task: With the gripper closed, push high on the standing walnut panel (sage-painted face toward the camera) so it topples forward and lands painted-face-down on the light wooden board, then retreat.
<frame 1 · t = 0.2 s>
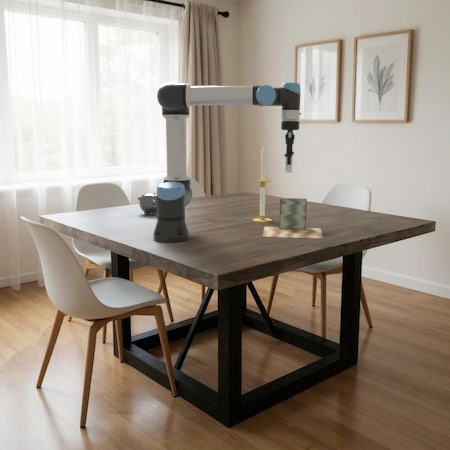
hand: (288, 171, 232), 28 cm above the table, fingers open, 13 cm apart
panel: (292, 228, 250), resting on light wooden board
light wooden board: (292, 233, 242), on the table
piggy bank: (152, 214, 288), on the table
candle: (262, 220, 272), on the table
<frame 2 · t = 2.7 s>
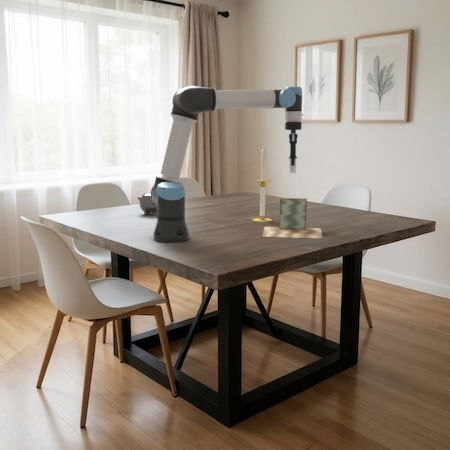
hand: (292, 172, 254), 26 cm above the table, fingers closed
nothing on the table moved.
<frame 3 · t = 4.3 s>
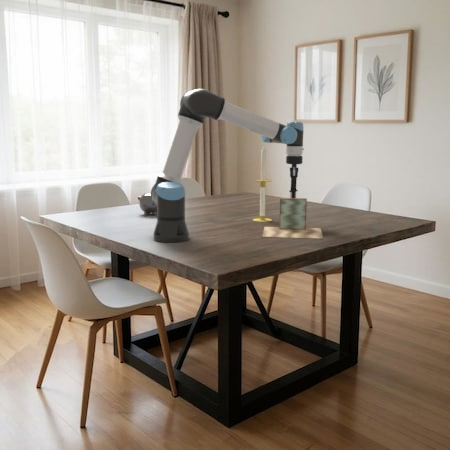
hand: (292, 205, 257), 10 cm above the table, fingers closed
nothing on the table moved.
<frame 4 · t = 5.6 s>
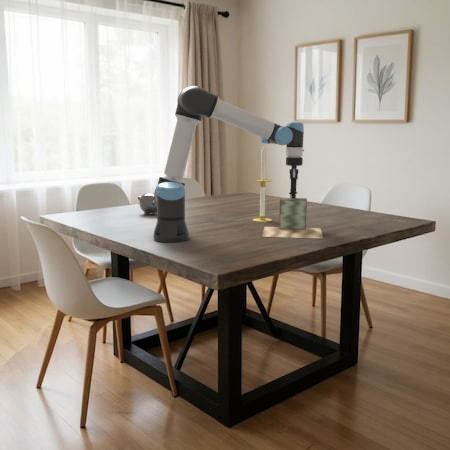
hand: (292, 207, 251), 10 cm above the table, fingers closed
panel: (292, 228, 250), point 1 cm above the table, tilted 6°, touching light wooden board
everything else where it was.
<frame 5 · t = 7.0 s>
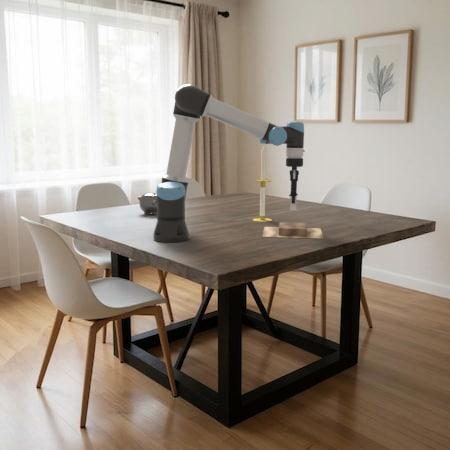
hand: (293, 210, 243), 10 cm above the table, fingers closed
panel: (292, 225, 248), point 2 cm above the table, tilted 90°, touching light wooden board
everything else where it was.
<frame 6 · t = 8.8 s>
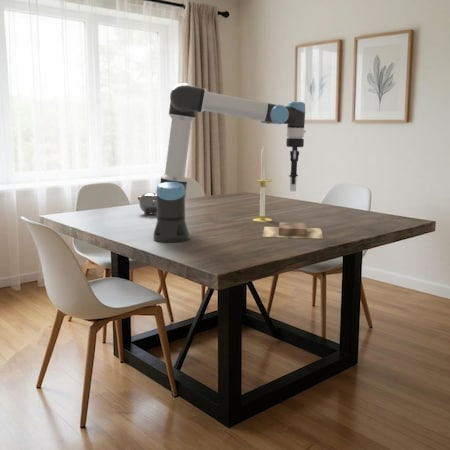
hand: (292, 191, 243), 18 cm above the table, fingers closed
nothing on the table moved.
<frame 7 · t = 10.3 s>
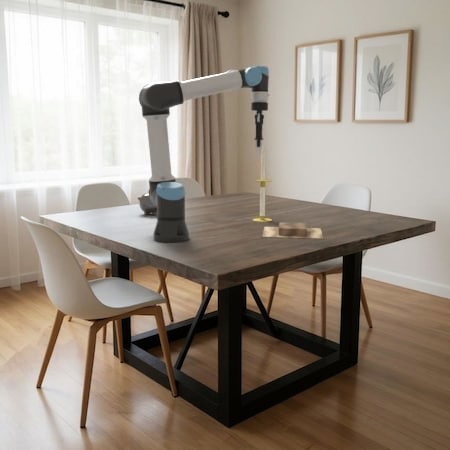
hand: (258, 154, 250), 34 cm above the table, fingers closed
nothing on the table moved.
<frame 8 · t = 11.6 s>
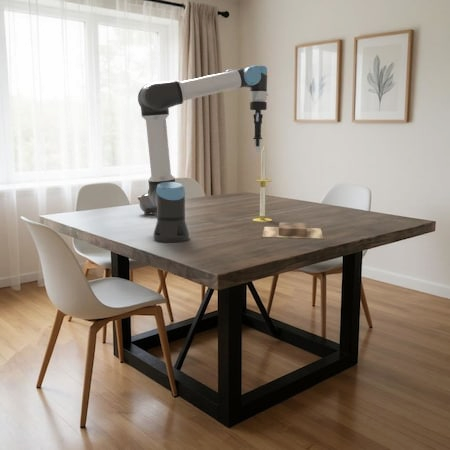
hand: (257, 153, 250), 34 cm above the table, fingers closed
nothing on the table moved.
at the end: panel tilted 90°; panel inside the target area (7.8 cm from its centre), point 2.0 cm above the table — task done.
